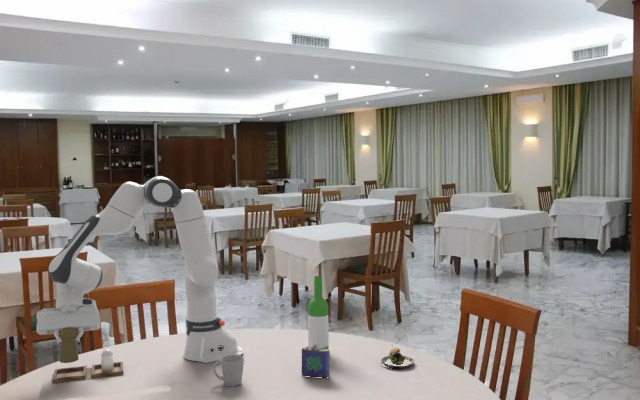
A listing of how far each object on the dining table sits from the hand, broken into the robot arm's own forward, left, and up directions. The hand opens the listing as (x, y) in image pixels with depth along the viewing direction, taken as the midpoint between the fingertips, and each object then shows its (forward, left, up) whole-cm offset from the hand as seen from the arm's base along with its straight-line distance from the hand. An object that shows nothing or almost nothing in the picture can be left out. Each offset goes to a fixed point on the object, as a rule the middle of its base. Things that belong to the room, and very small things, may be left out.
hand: (68, 342), depth 198 cm
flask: (-79, +25, -13) cm, 84 cm away
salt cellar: (-12, -1, -12) cm, 17 cm away
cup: (-50, +21, -13) cm, 56 cm away
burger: (-111, +24, -14) cm, 115 cm away
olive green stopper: (0, -1, -6) cm, 6 cm away
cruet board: (-6, -1, -13) cm, 15 cm away
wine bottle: (-88, +3, -13) cm, 89 cm away
